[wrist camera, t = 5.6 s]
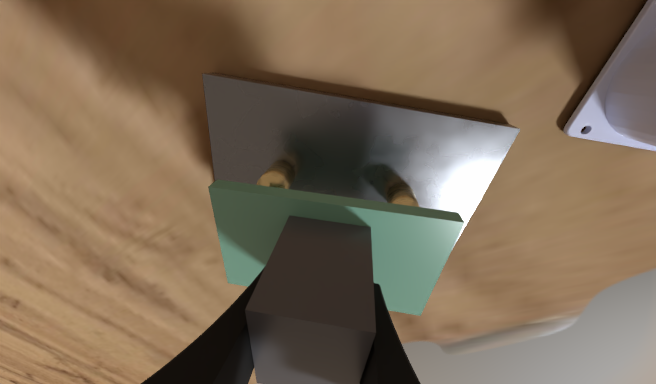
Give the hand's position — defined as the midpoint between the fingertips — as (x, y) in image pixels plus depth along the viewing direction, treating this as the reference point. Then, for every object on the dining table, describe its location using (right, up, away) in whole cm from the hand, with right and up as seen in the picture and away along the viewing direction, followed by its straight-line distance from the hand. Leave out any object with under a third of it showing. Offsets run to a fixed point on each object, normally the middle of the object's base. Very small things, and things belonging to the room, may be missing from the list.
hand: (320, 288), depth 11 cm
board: (0, +1, +2) cm, 3 cm away
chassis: (+1, +4, +9) cm, 9 cm away
